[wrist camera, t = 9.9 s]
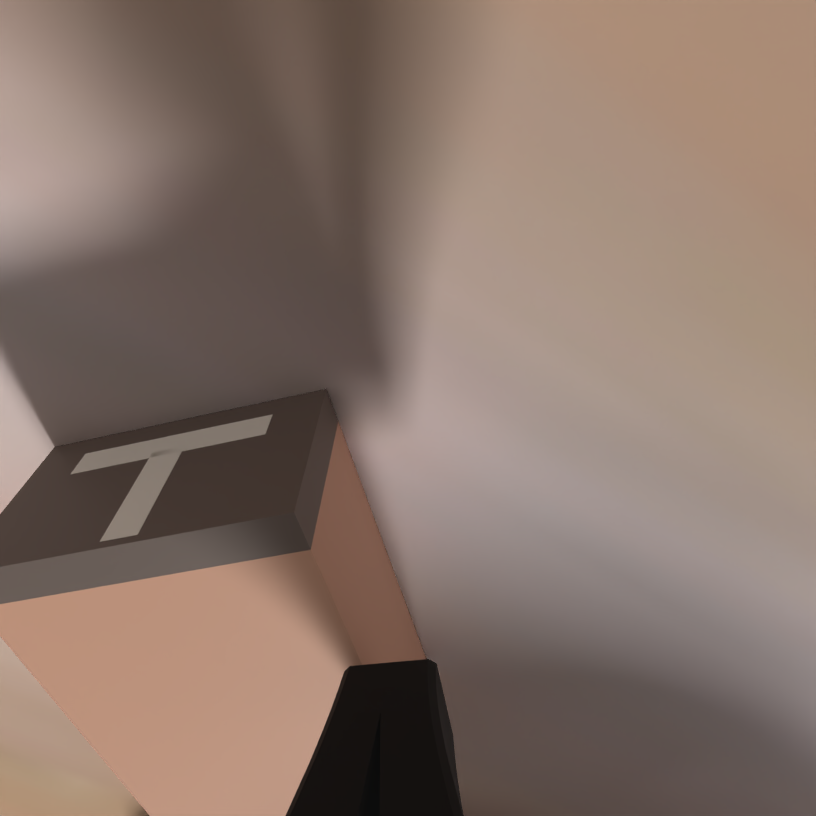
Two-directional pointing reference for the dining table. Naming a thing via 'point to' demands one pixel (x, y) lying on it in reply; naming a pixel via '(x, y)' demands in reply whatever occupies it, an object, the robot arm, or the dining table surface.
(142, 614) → the tan cuboid
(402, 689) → the robot arm
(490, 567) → the dining table surface
